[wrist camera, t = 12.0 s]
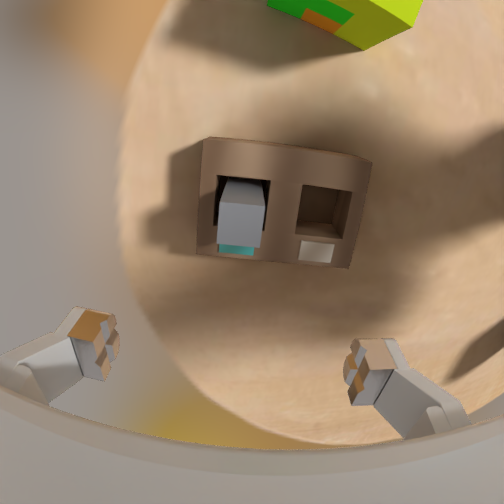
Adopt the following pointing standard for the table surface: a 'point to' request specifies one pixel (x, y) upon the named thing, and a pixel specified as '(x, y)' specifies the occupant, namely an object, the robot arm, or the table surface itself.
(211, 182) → the socket block
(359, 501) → the robot arm
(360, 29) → the puzzle toy
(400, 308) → the table surface
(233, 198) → the plug
